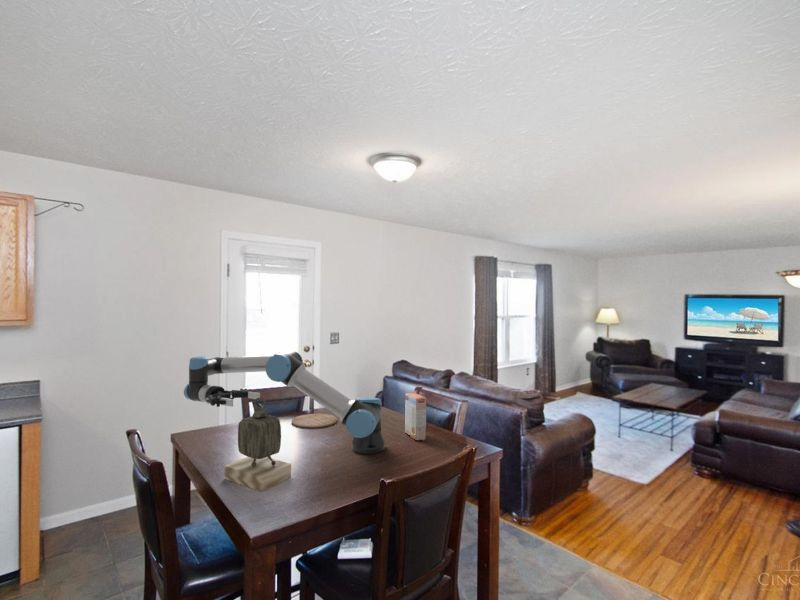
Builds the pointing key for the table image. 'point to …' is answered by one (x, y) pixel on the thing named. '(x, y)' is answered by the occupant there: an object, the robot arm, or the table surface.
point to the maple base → (257, 472)
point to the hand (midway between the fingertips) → (246, 399)
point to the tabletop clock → (259, 435)
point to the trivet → (314, 420)
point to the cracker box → (415, 415)
